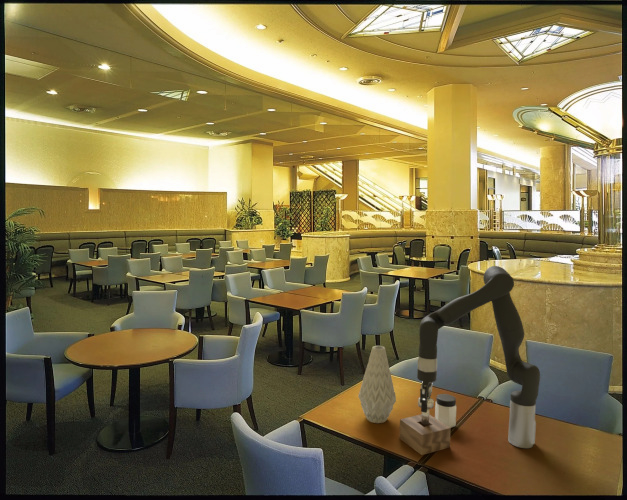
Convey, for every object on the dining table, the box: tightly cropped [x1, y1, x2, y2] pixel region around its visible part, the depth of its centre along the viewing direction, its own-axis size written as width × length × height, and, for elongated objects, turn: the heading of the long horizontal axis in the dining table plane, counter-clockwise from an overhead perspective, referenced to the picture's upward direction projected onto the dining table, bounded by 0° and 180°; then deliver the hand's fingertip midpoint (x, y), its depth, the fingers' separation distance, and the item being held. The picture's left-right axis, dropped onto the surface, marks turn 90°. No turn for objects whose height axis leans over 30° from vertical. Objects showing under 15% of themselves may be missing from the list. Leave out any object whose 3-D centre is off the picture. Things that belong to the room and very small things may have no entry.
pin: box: [417, 397, 435, 425], centre depth 177 cm, size 6×6×10 cm
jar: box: [434, 393, 457, 428], centre depth 194 cm, size 9×8×12 cm
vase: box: [358, 345, 397, 424], centre depth 197 cm, size 17×17×33 cm
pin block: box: [399, 413, 452, 456], centre depth 178 cm, size 14×14×8 cm
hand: (425, 408), depth 177 cm, fingers closed on pin, 6 cm apart
